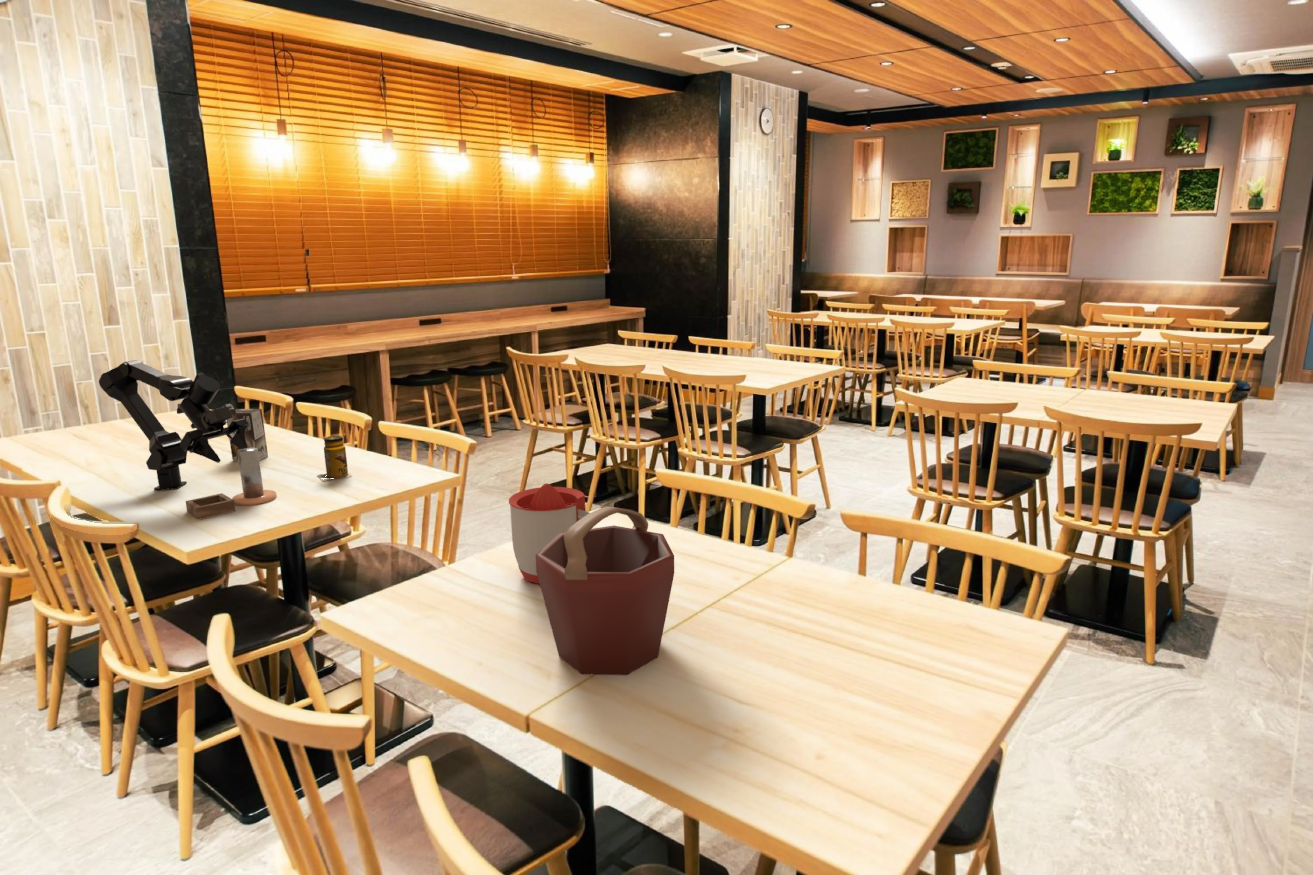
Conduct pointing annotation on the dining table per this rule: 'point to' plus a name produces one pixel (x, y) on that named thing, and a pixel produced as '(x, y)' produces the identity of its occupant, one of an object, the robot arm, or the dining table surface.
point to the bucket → (607, 593)
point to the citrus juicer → (541, 521)
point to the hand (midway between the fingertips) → (233, 457)
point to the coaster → (242, 501)
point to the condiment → (335, 458)
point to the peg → (250, 472)
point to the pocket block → (210, 506)
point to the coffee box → (251, 432)
